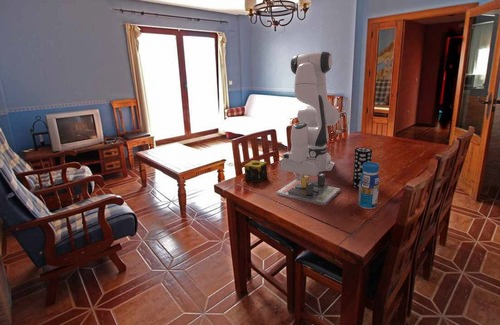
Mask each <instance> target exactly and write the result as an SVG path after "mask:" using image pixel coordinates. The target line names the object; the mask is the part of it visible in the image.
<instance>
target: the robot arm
mask: <svg viewBox="0 0 500 325" xmlns="http://www.w3.org/2000/svg"><path fill="white" fill-rule="evenodd" d="M332 66H333V57H332V54H331V53H330V52H328V51H313V52H311V51H310V52H307V53H302V54H296V55H294V56H292V58H291V59H290V70H291V72H292V74H294V75H295V76H294V87H293V88H294V96H295V98H296V99H297V100H298V101H299V102H300V103H303V104H305V105H306V106H302V107H300V108H299V109H298V111H297V115H296V116H297V120H298V122H296V123H294V124H292V126H291V132H290V143H291V148H290V150H289V151H286V152H283V154H282V155H281V158H282V159H281V162H280V163H281V164H280V168H281V170H282V172H283V171H284V172H289V173H293V174H294V176H295V178H296V179H295V180H296V181H300V182H301V180H302V177H304V176H309V177H316V176H317V177H318V175H319V174H320V173H322V172H330V171H332V169H333V167H334V166H335V162H333V161H332V156H331V154H330V153H329V152H328V149H329V147H330V146H329V145H327V144H328V143H329V142H328V141H329V138H330V137H329V131H328V128H327V127H330V126H335V125H336V124H337V123H338V121H339V119H340V112H339V110H338V109H337V108H336V107H334V105H333V104H332V103H331V101H330V100H329V98H328V97H329V96H328V94H327V92H328V91H327V77H326V74H327V73H328V72H330V70H331V68H332ZM307 105H308V106H307ZM299 175H300V176H299Z"/></svg>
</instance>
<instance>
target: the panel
mask: <svg viewBox="0 0 500 325" xmlns="http://www.w3.org/2000/svg"><path fill="white" fill-rule="evenodd" d="M309 182H311V183H314V193H313V194H311V195H307V194H306V188H304V187H301V182H300V181H296V179H293V181H292V180H291V181H290V182H289V183H288V184H285V186H282V188H281V189H279V190H277V191H276V195H278V196H281V197H286V198H290V199H292V200H297V201H301V202H307V203H310V204H315V205H318V206H323V207H325V206H326V205H328V204H329V202H331V200H333V198H334V197H336V196H337V195H338V193H340V192H341V188H340V187H334V186H330V185H329V183H327V182H325V184H323V185H318V180H317V181H316V180H311V179H309Z"/></svg>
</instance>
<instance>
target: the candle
mask: <svg viewBox="0 0 500 325" xmlns="http://www.w3.org/2000/svg"><path fill="white" fill-rule="evenodd" d="M267 163H268V162H267V161H263V160H261V161H260V160H254V159H252V160H250V161H249V162H247V163H245V164H244V179H245V180H244V181H246V180H247V181H246V182H250V181H252V182H251V183H257V184H261V183H262V182H263V181H265V180H266V179H267V178H268V170H267V166H268V165H267ZM265 178H266V179H265ZM261 181H262V182H261Z"/></svg>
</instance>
